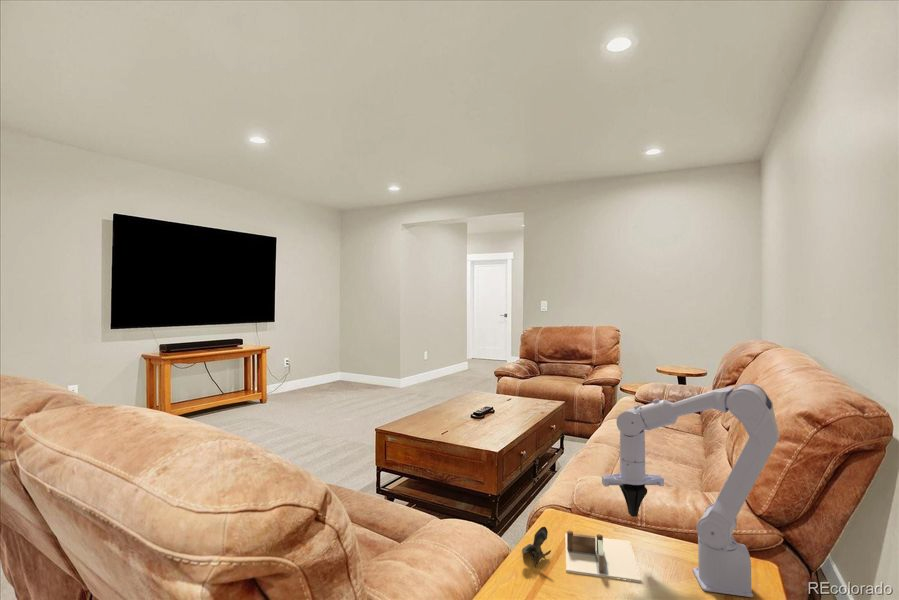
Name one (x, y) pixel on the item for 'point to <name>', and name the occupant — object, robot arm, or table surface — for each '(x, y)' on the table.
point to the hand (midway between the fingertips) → (632, 514)
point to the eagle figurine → (537, 546)
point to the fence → (582, 543)
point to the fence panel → (600, 556)
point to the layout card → (605, 561)
